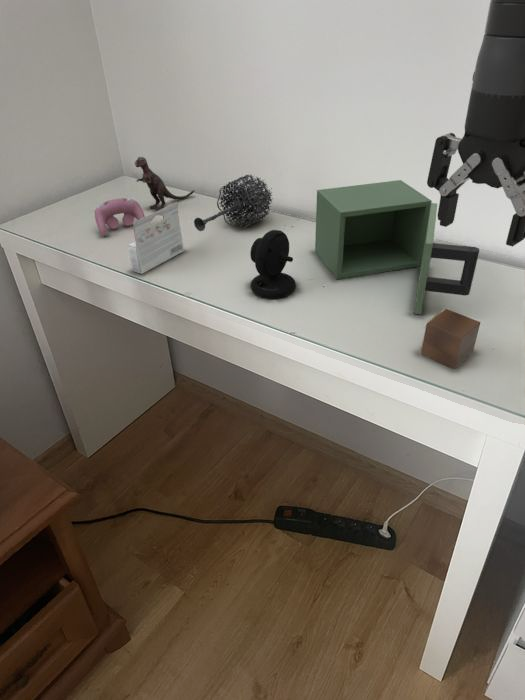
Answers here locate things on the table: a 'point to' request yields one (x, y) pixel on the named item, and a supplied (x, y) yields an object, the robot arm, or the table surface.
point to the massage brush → (241, 202)
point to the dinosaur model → (156, 185)
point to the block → (450, 338)
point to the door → (444, 252)
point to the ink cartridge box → (156, 239)
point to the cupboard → (370, 228)
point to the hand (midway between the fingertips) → (477, 233)
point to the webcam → (272, 265)
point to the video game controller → (116, 207)
